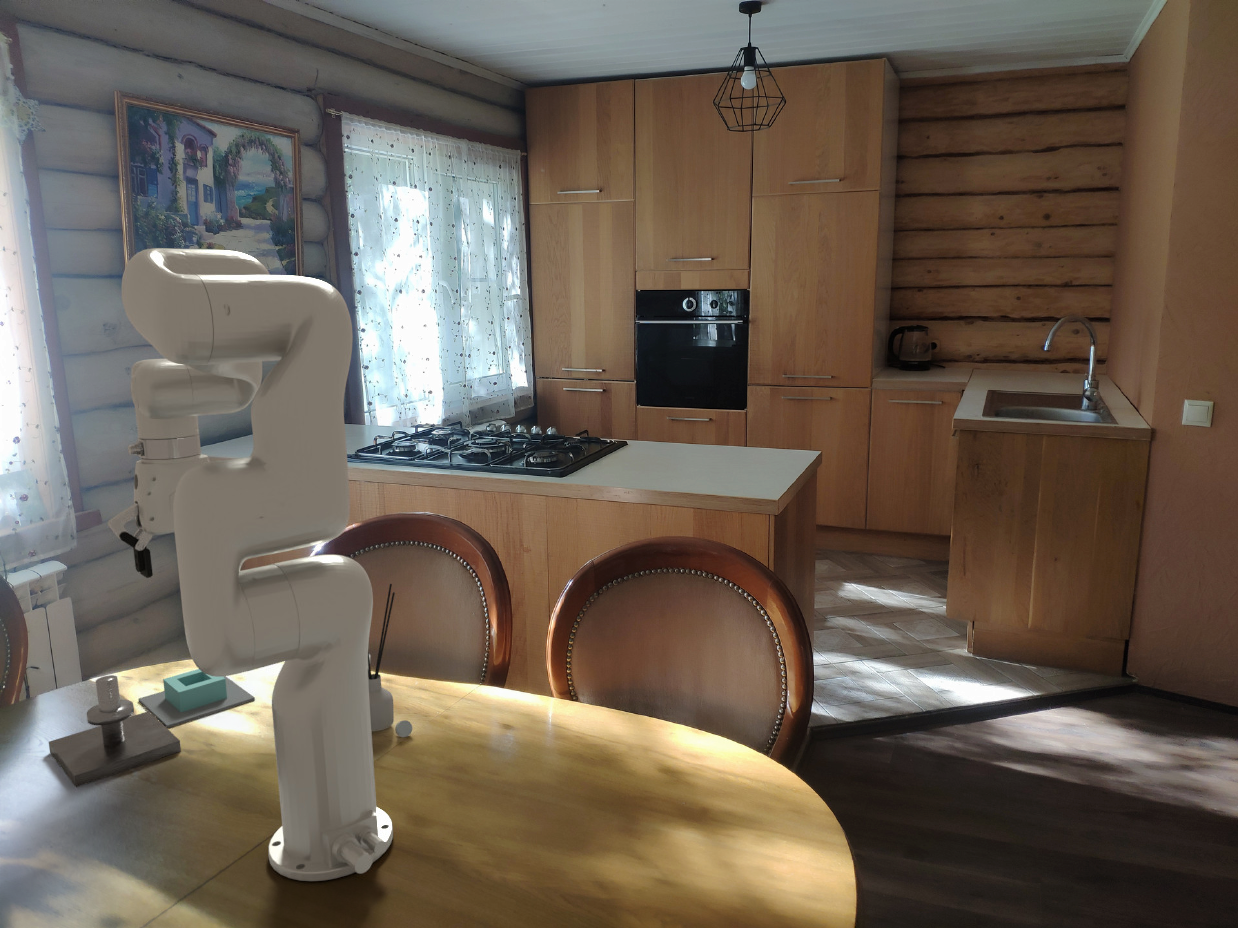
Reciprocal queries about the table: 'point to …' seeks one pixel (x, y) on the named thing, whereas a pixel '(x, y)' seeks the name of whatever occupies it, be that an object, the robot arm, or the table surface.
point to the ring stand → (112, 739)
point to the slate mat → (174, 717)
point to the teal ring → (194, 689)
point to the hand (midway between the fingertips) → (183, 567)
